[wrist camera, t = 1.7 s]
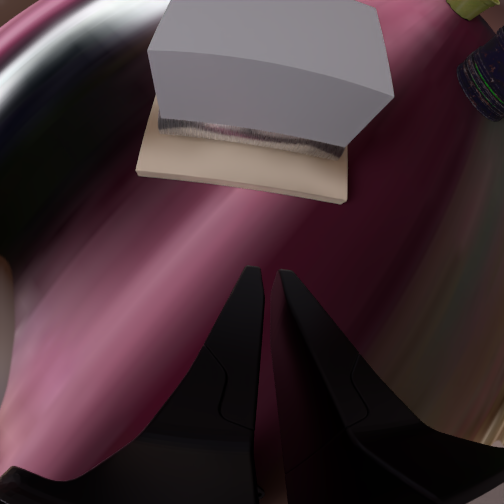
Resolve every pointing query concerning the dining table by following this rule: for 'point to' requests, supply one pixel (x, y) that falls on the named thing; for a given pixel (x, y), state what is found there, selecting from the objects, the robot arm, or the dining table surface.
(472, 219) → the dining table surface
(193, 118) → the slab
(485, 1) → the plant pot
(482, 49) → the storage jar
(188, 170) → the track board
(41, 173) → the dining table surface
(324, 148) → the rollers
